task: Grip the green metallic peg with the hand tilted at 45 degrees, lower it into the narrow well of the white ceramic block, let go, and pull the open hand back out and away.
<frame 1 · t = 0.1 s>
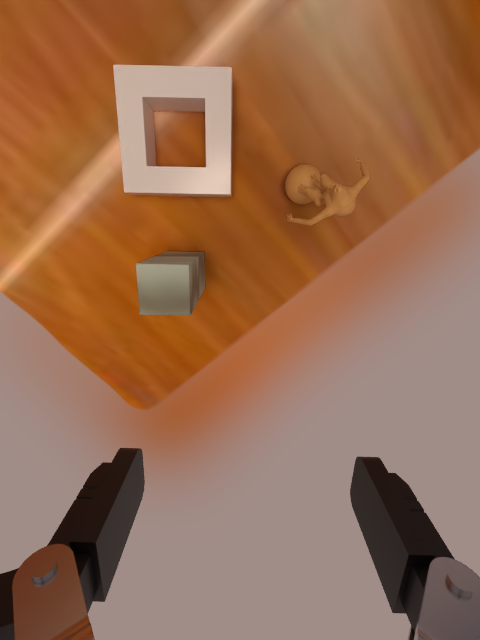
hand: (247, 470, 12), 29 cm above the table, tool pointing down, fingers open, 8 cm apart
white well block: (182, 142, 34), on the table
figurine: (305, 194, 36), on the table
green metallic peg: (186, 269, 39), on the table
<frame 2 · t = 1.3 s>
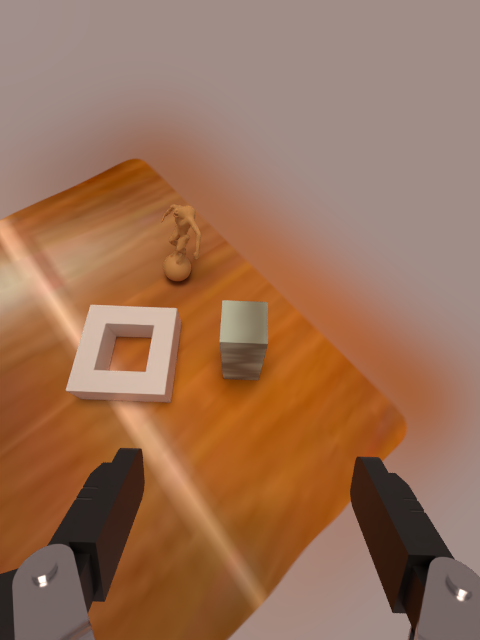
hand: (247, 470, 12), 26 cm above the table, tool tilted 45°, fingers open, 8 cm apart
white well block: (134, 358, 41), on the table
figurine: (185, 272, 47), on the table
green metallic peg: (241, 362, 41), on the table
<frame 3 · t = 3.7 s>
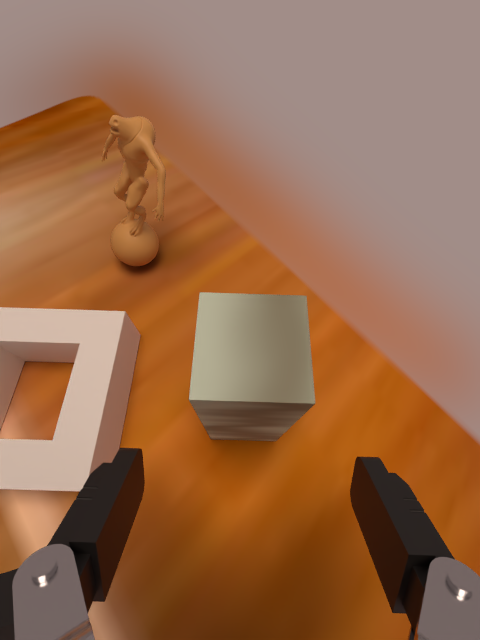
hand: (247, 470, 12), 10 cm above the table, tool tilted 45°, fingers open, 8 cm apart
white well block: (52, 401, 23), on the table
figurine: (151, 253, 29), on the table
green metallic peg: (244, 407, 23), on the table
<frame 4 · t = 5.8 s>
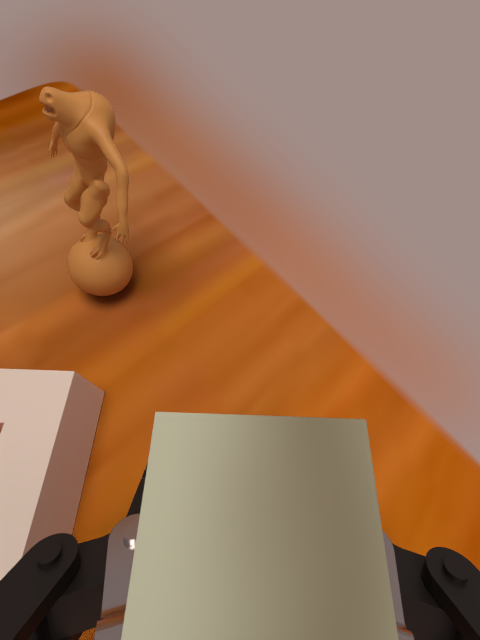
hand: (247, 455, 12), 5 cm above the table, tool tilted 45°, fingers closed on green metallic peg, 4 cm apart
figurine: (125, 277, 23), on the table
green metallic peg: (243, 502, 16), on the table, touching gripper
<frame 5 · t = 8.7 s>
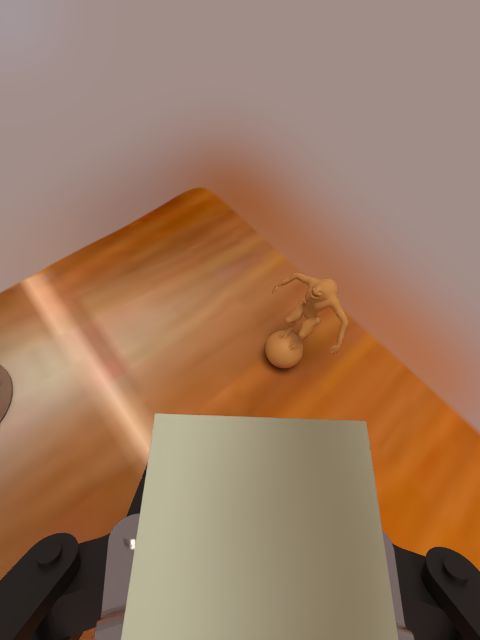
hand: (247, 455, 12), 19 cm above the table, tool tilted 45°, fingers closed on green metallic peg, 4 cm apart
figurine: (288, 351, 35), on the table
green metallic peg: (243, 503, 16), point 14 cm above the table, touching gripper
when the fingers open (7 cm above the table, at t = 11.9 s): green metallic peg drops 1 cm, resting in white well block.
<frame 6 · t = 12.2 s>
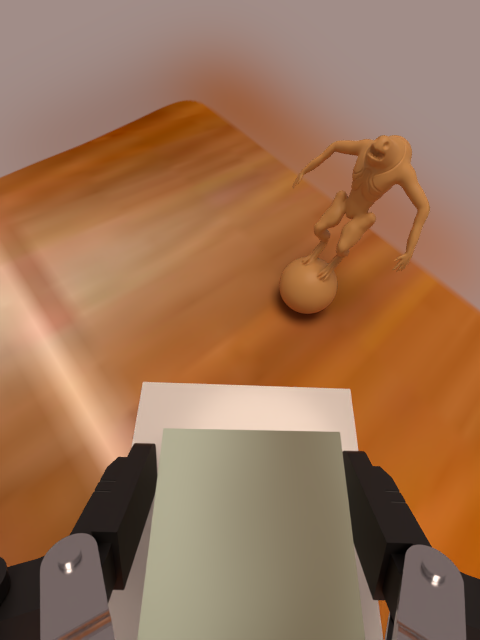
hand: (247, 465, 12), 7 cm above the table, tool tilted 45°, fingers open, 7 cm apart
white well block: (242, 500, 18), on the table
figurine: (311, 294, 24), on the table
green metallic peg: (241, 502, 18), resting in white well block
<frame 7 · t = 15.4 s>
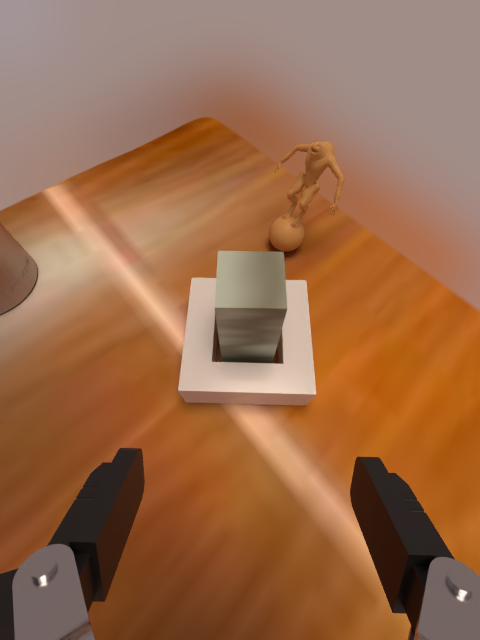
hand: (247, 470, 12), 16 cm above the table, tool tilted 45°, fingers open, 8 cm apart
white well block: (247, 348, 31), on the table
figurine: (290, 242, 38), on the table
green metallic peg: (246, 349, 31), resting in white well block
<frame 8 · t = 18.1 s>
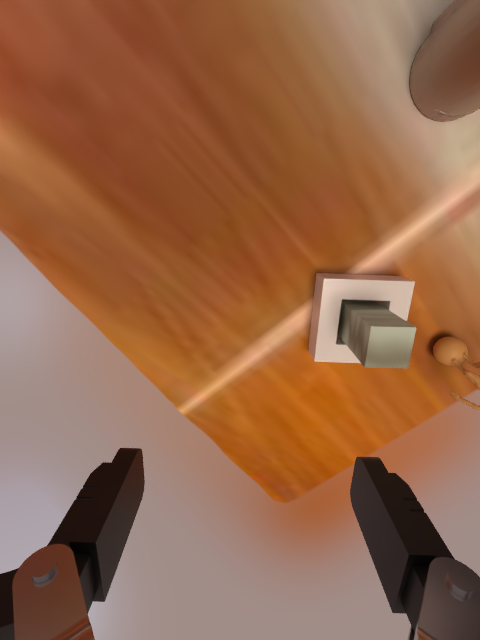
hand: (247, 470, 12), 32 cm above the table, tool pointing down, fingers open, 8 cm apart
white well block: (351, 314, 43), on the table
figurine: (443, 350, 45), on the table
green metallic peg: (351, 313, 43), resting in white well block
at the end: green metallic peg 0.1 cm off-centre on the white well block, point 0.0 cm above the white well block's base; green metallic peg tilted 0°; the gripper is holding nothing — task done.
